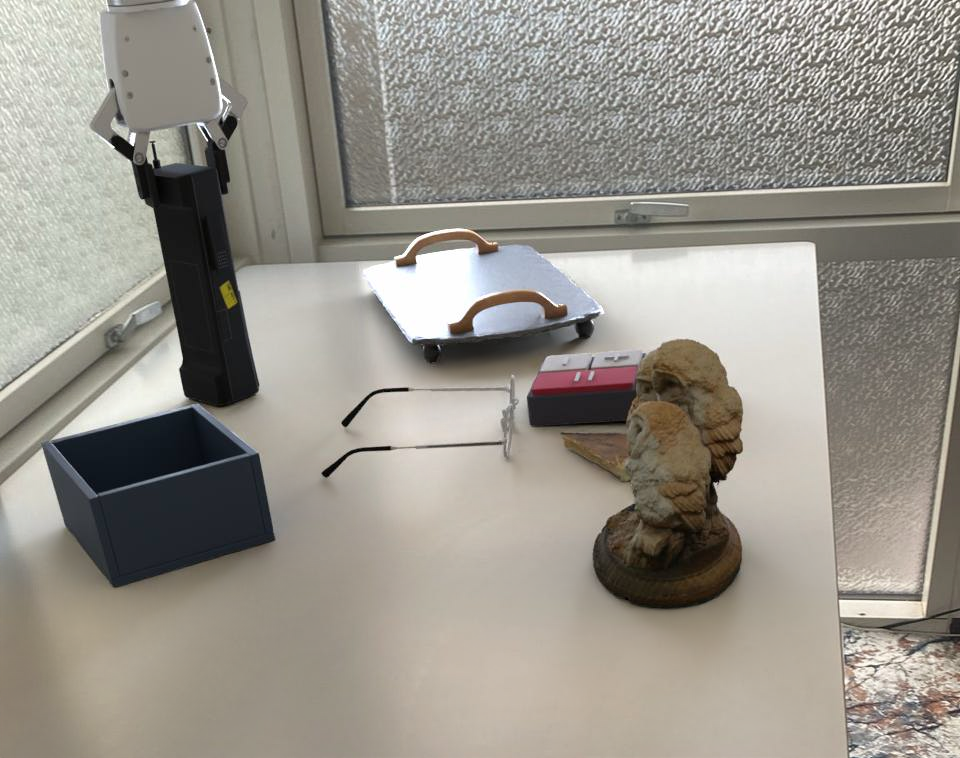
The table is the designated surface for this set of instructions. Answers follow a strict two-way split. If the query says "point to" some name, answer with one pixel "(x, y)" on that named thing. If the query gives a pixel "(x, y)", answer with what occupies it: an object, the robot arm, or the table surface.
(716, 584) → the owl figurine
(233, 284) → the portable radio
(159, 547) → the bin
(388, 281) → the serving tray
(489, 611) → the table surface
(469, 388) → the eyeglasses
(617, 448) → the shard
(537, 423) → the red gray box
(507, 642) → the table surface
